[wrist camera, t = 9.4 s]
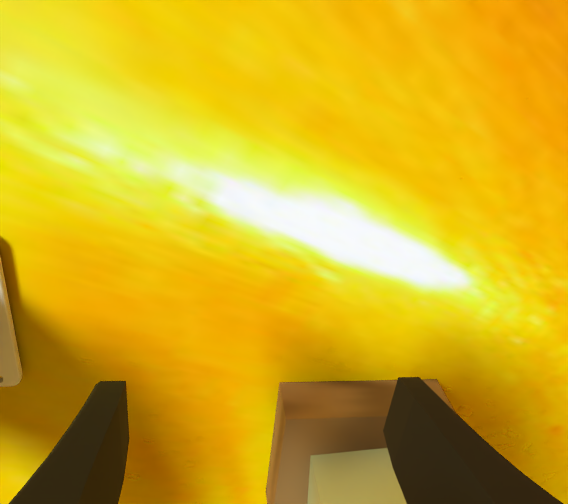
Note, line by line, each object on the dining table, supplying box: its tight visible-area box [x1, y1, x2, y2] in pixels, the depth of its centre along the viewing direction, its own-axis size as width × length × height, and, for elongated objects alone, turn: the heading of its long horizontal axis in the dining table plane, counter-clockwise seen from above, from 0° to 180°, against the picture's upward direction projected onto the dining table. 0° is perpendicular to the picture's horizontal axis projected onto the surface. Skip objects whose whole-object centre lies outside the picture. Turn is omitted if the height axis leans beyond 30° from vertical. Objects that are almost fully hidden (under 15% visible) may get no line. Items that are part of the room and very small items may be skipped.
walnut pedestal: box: [266, 379, 456, 504], centre depth 28 cm, size 9×9×3 cm
